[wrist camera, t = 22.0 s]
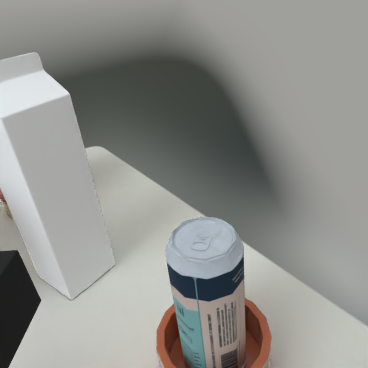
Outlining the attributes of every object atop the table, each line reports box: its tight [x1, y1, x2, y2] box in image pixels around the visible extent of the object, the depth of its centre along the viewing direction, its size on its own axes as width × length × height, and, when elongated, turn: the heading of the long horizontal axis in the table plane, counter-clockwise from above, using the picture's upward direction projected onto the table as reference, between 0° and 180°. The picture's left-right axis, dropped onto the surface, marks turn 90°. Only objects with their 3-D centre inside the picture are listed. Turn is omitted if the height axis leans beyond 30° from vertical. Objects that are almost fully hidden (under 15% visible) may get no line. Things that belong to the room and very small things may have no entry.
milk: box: [0, 52, 116, 300], centre depth 32 cm, size 6×6×22 cm
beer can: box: [165, 217, 246, 368], centre depth 24 cm, size 5×5×12 cm
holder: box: [156, 298, 272, 368], centre depth 26 cm, size 8×8×4 cm
